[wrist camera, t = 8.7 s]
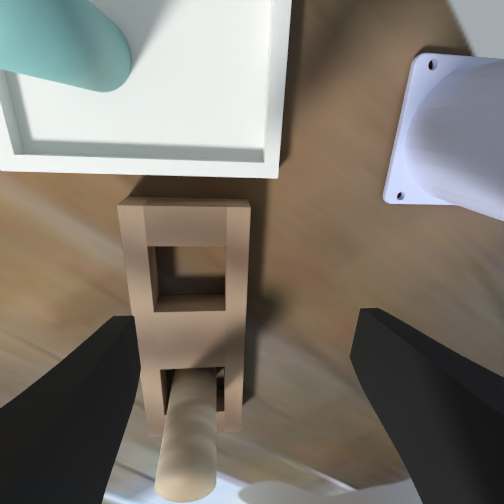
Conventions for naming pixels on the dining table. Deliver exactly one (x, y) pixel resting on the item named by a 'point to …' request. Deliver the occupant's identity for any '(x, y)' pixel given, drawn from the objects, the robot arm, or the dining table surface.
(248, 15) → the tray
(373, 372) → the robot arm
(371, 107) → the dining table surface
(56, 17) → the teal dowel
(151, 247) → the rack
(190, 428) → the birch dowel
